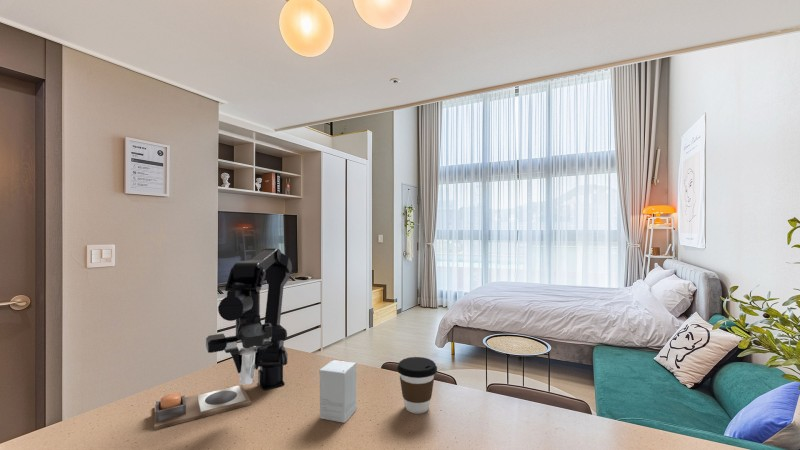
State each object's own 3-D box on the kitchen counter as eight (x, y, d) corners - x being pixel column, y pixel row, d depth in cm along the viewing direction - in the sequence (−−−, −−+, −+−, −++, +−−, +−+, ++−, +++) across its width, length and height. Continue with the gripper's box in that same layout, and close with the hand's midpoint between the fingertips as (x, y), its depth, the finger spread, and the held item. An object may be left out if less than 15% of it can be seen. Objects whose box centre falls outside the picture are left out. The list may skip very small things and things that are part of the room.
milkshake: (252, 387, 89) (253, 347, 89) (233, 385, 90) (234, 345, 90) (262, 380, 94) (263, 342, 94) (244, 377, 95) (245, 340, 95)
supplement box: (357, 409, 95) (357, 362, 96) (344, 424, 88) (344, 373, 89) (333, 405, 98) (333, 359, 98) (318, 418, 91) (318, 369, 91)
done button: (180, 402, 95) (180, 391, 95) (181, 409, 92) (181, 398, 92) (160, 407, 93) (160, 396, 93) (160, 415, 89) (160, 403, 89)
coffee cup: (445, 407, 97) (445, 363, 97) (419, 423, 89) (419, 375, 89) (414, 394, 104) (414, 353, 104) (388, 408, 96) (388, 363, 96)
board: (242, 386, 109) (242, 376, 109) (251, 404, 98) (251, 393, 98) (154, 407, 96) (154, 395, 96) (154, 430, 86) (154, 416, 86)
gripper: (211, 323, 80) (210, 392, 80) (293, 312, 91) (293, 373, 90) (205, 313, 89) (205, 375, 89) (281, 304, 100) (281, 359, 100)
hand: (247, 370), depth 92 cm, fingers closed on milkshake, 4 cm apart
